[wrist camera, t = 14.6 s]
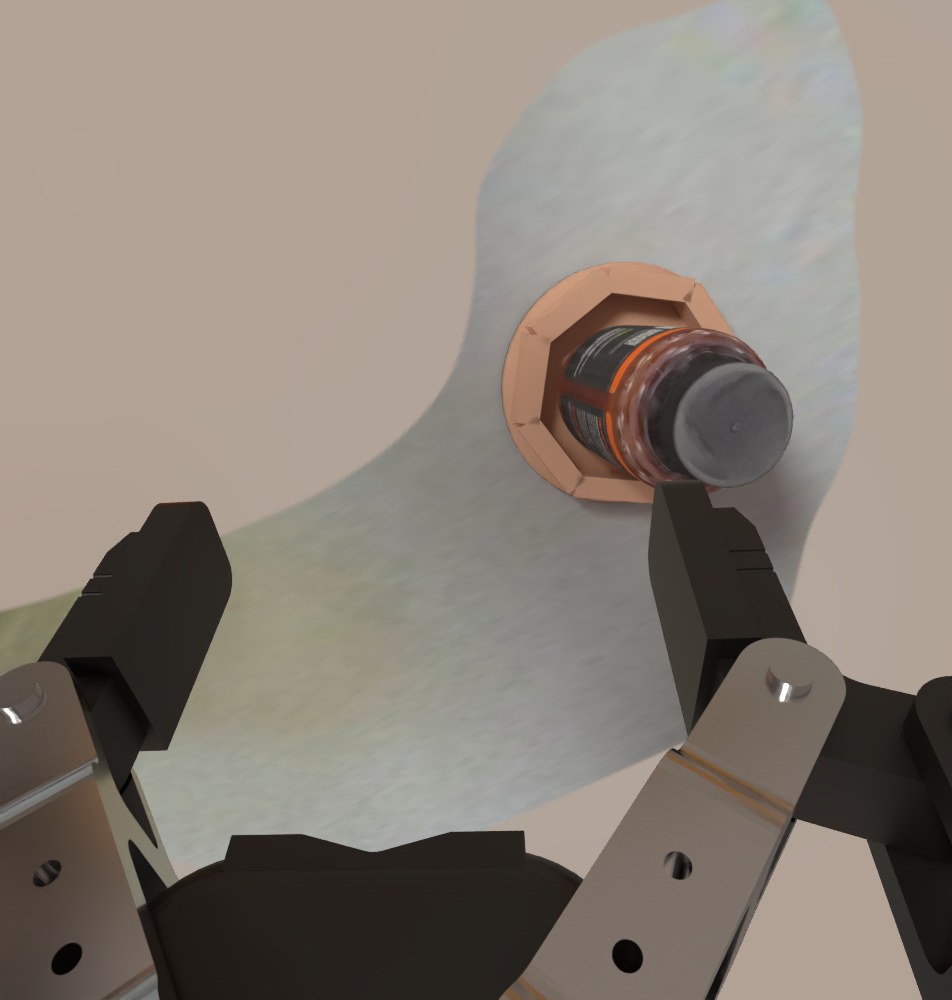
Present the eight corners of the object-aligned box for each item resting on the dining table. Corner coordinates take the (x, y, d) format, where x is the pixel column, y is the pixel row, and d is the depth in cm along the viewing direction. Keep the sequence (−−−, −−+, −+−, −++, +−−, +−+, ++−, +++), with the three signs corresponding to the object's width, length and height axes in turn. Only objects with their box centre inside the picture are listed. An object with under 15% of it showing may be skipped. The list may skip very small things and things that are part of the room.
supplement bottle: (629, 476, 34) (747, 554, 23) (528, 410, 33) (603, 460, 22) (703, 369, 33) (860, 398, 23) (602, 296, 32) (719, 290, 21)
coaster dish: (453, 367, 32) (458, 372, 30) (645, 209, 32) (665, 203, 30) (590, 542, 36) (604, 557, 33) (768, 402, 35) (794, 408, 33)
